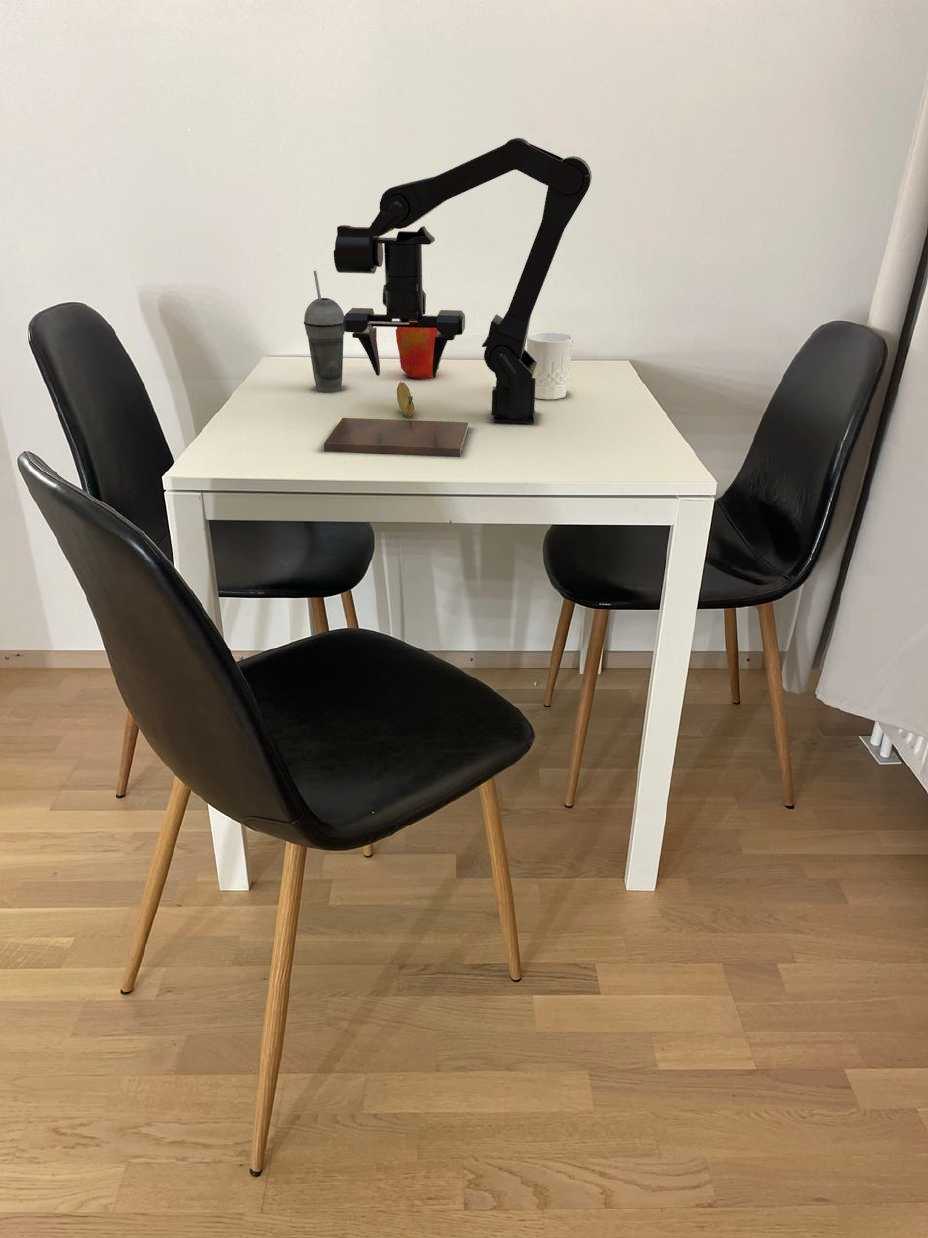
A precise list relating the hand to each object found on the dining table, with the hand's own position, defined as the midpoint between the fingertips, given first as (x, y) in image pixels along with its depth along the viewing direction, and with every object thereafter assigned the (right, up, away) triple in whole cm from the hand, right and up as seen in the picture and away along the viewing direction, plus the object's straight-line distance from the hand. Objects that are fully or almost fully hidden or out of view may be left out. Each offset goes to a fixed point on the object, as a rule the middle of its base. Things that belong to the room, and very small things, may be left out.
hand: (406, 375), depth 150 cm
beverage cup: (-15, +2, +16) cm, 22 cm away
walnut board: (0, -12, -10) cm, 16 cm away
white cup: (+24, 0, +13) cm, 28 cm away
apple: (+1, +6, +24) cm, 25 cm away
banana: (0, -5, +3) cm, 6 cm away
